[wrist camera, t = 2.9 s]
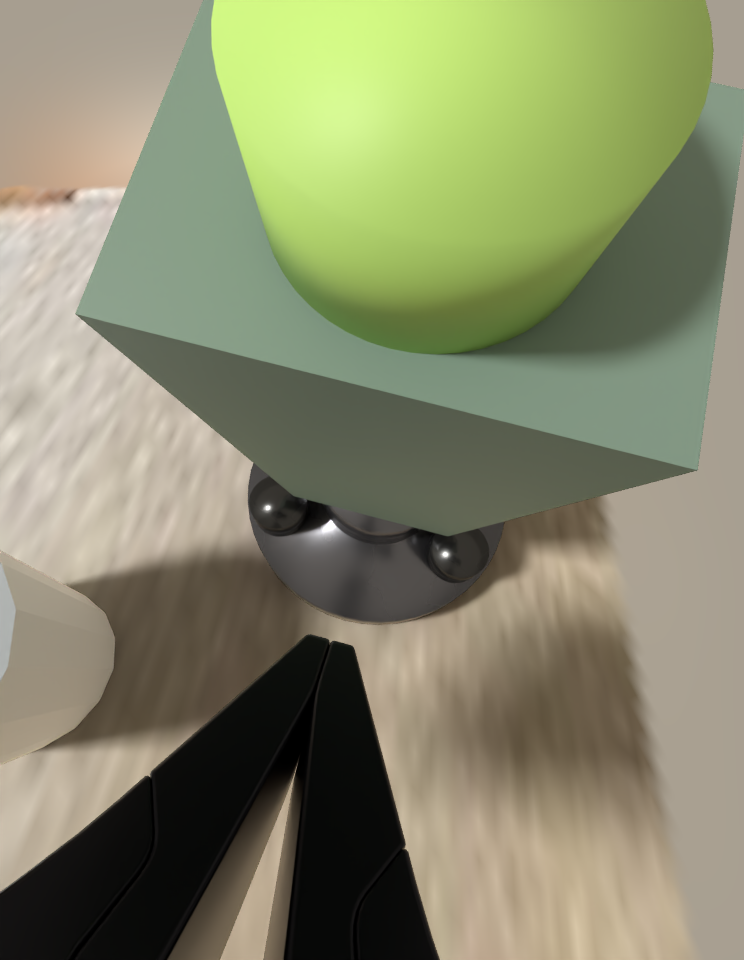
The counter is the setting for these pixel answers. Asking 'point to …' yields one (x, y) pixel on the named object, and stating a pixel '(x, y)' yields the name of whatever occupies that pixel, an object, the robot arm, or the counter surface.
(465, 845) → the counter surface
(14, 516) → the counter surface
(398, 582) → the base
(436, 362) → the dome-topped green pillar
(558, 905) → the counter surface
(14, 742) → the white cup
